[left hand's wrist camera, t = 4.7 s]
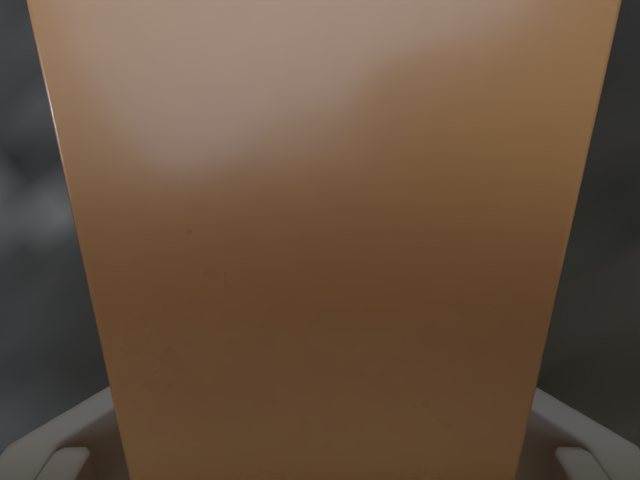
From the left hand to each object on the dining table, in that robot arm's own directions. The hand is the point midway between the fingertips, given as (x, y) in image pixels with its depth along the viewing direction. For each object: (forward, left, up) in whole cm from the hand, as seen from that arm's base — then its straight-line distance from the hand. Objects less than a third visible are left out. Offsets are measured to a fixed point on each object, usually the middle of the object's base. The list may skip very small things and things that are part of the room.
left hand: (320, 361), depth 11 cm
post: (-2, -21, -3) cm, 21 cm away
